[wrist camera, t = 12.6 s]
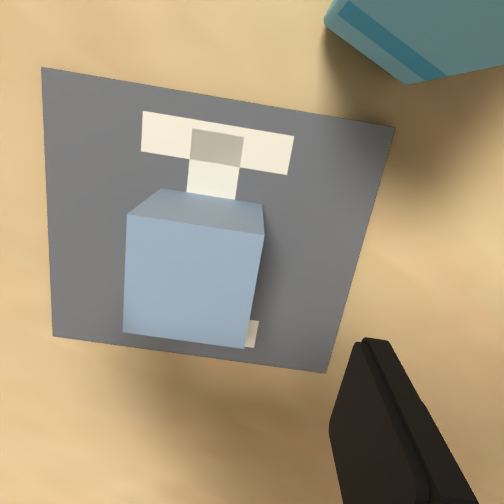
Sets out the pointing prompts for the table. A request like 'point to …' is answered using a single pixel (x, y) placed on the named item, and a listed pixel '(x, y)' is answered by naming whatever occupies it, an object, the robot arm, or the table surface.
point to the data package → (422, 35)
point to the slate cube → (192, 267)
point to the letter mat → (212, 184)
